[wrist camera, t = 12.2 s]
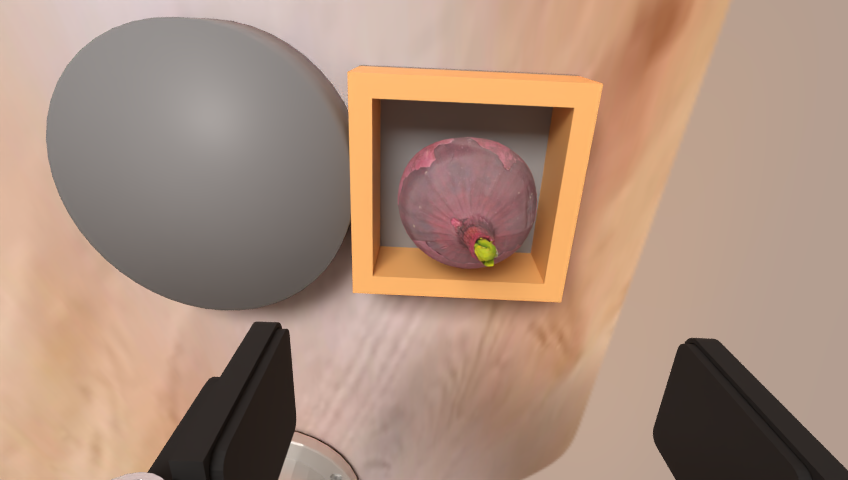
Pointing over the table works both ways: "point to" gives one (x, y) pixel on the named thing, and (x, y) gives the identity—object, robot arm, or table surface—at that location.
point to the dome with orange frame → (294, 164)
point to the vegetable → (467, 201)
